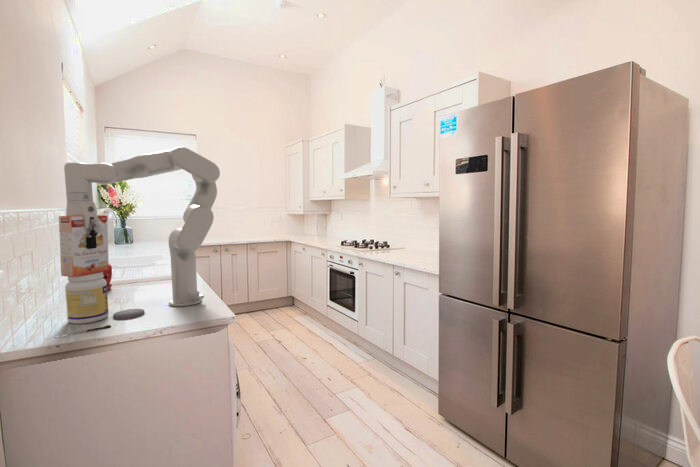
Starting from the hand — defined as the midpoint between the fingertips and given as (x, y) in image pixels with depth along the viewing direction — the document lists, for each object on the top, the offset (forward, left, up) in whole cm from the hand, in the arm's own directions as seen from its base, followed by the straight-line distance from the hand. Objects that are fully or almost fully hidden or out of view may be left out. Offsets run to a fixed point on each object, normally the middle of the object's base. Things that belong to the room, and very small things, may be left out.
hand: (83, 247), depth 130 cm
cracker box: (0, 0, -10) cm, 10 cm away
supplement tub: (0, 0, -26) cm, 26 cm away
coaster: (-10, -8, -26) cm, 29 cm away
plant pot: (+39, -33, -27) cm, 57 cm away
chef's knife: (-9, +11, -27) cm, 30 cm away
